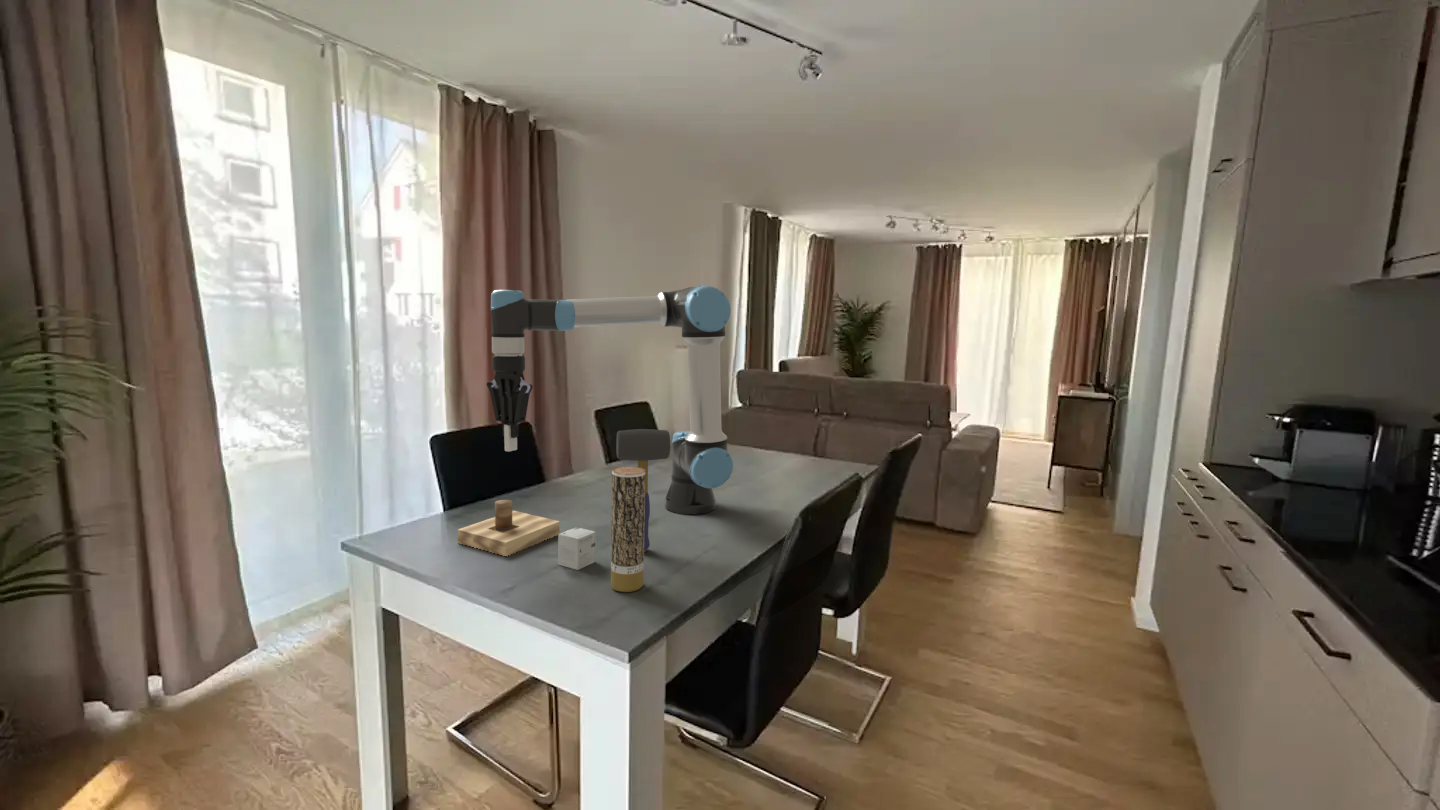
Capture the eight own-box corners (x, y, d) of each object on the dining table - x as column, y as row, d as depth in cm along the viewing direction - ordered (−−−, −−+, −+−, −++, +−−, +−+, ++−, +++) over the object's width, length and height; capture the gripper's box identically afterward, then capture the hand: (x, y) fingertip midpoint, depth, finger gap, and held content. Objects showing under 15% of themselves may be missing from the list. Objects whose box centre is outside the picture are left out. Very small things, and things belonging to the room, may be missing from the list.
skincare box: (577, 570, 138) (578, 539, 137) (557, 564, 141) (557, 533, 140) (595, 562, 143) (596, 531, 142) (575, 556, 146) (575, 526, 145)
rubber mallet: (616, 558, 146) (618, 432, 141) (613, 546, 153) (615, 426, 149) (669, 555, 149) (672, 431, 145) (664, 544, 156) (666, 426, 152)
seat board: (559, 534, 160) (559, 521, 160) (505, 557, 144) (505, 542, 144) (513, 523, 167) (513, 510, 167) (457, 543, 152) (457, 529, 151)
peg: (516, 540, 155) (515, 501, 153) (503, 545, 151) (503, 505, 150) (504, 537, 157) (503, 498, 155) (491, 542, 153) (491, 502, 152)
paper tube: (644, 580, 134) (646, 467, 131) (641, 594, 128) (644, 475, 124) (613, 579, 134) (614, 466, 131) (608, 593, 127) (609, 474, 124)
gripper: (540, 355, 151) (541, 450, 154) (500, 352, 157) (503, 444, 160) (517, 356, 144) (519, 456, 148) (476, 354, 150) (479, 449, 154)
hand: (511, 450), depth 154 cm, fingers closed
